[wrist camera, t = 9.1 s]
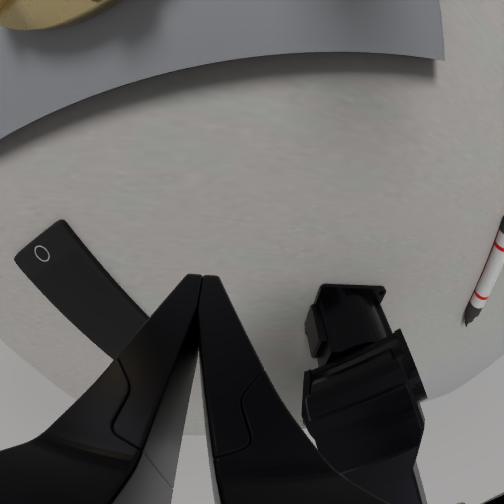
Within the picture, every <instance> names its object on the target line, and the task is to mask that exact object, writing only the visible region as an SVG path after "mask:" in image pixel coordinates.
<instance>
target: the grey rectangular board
mask: <svg viewBox="0 0 504 504" xmlns="http://www.w3.org/2000/svg"><path fill="white" fill-rule="evenodd" d="M305 52H369V53H385V54H397V55H407V56H416V57H424V58H431V59H437V60H444V61H445V57H444V40H443V28H442V18H441V10H440V2H439V0H121V1H119V2H118V3H116V4H115V5H113V6H111V7H110V8H108V9H106V10H105V11H103V12H101V13H99V14H97V15H95V16H93V17H91V18H89V19H86V20H84V21H81V22H79V23H76V24H72V25H69V26H66V27H61V28H55V29H40V30H15V29H10V28H7V27H4V26H2V25H0V139H1V138H3V137H5V136H6V135H8V134H10V133H12V132H14V131H15V130H17V129H19V128H21V127H23V126H25V125H27V124H29V123H31V122H33V121H35V120H37V119H39V118H41V117H43V116H45V115H48V114H50V113H52V112H54V111H56V110H59V109H61V108H63V107H66V106H68V105H70V104H73V103H75V102H78V101H80V100H83V99H85V98H88V97H91V96H93V95H96V94H99V93H102V92H104V91H107V90H110V89H113V88H116V87H119V86H122V85H125V84H129V83H132V82H135V81H138V80H142V79H145V78H149V77H153V76H156V75H160V74H164V73H168V72H172V71H176V70H181V69H185V68H190V67H194V66H199V65H204V64H210V63H215V62H221V61H227V60H234V59H240V58H248V57H256V56H265V55H275V54H288V53H305Z"/></svg>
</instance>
